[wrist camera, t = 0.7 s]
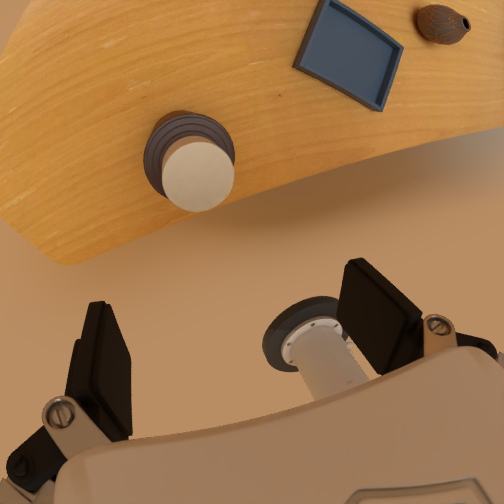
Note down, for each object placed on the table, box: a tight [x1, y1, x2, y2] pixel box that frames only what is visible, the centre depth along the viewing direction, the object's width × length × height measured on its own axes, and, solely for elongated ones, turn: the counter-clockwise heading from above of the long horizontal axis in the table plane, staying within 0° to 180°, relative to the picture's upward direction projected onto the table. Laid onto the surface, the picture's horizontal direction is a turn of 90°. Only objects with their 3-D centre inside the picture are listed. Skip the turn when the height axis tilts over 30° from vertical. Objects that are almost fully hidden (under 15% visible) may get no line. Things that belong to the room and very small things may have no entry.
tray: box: [292, 0, 404, 112], centre depth 29 cm, size 13×11×2 cm
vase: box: [417, 4, 471, 45], centre depth 25 cm, size 7×7×9 cm
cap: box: [162, 136, 234, 212], centre depth 16 cm, size 4×4×3 cm
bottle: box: [143, 111, 235, 199], centre depth 23 cm, size 6×6×18 cm
